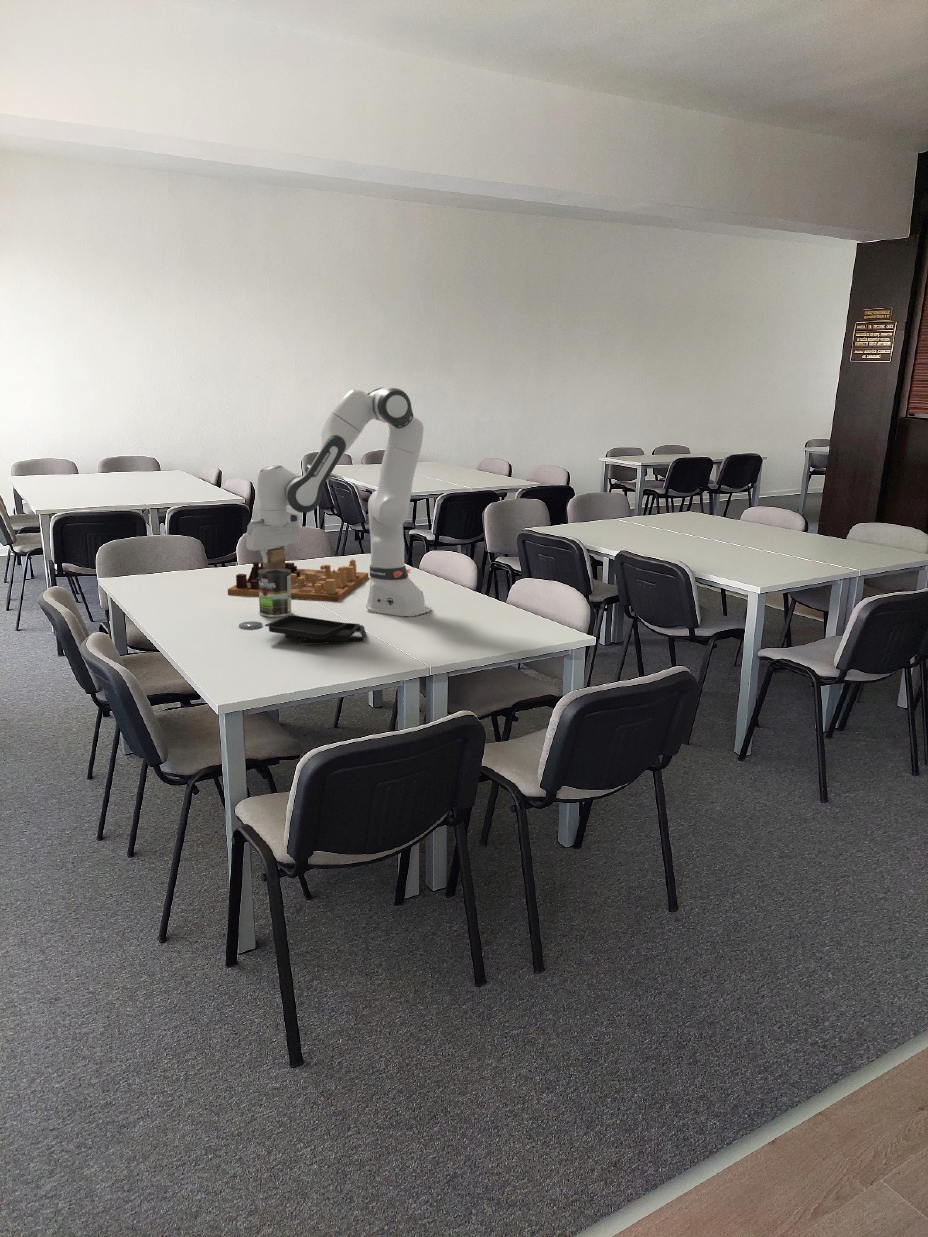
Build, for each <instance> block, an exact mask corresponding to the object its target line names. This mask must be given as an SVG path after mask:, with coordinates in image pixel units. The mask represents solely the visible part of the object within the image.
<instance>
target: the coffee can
mask: <svg viewBox="0 0 928 1237" xmlns="http://www.w3.org/2000/svg"><path fill="white" fill-rule="evenodd" d="M290 573H291V570H289V569H286V568H280V569H275V570H273V569H268V568H264V569H260V570H258V574H259V597H258V598H259V600H258V602H259V613H258V614H259V615H260V616H263V617H266V616H267V618H268V617H269V618H283V617H286V616H290V615H292V599H291V577H290ZM282 616H283V617H282Z"/></svg>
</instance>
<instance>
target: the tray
mask: <svg viewBox="0 0 928 1237" xmlns="http://www.w3.org/2000/svg"><path fill="white" fill-rule="evenodd" d="M264 626H265V627H268V632H270V633H274V634H275V633H276V634H282V635H285V638H290V639H291V638H292V639H296V640H297V641H298V640H299V644H301V645H313V644H315V645H316V644H347V643H348V644H349V643H353V644H354V643H363V642H364V639H365V638H368V634H367V632H366V629H365V626H364V625H362V624H360V623H354V622H353V623H351V622H342V621H341V622H340V621H334V620H328V619H323V618H322V619H321V618H314V617H306V616H302V615H301V616H300V615H292V614H290V615H287V616H283V617H280V618H278V619H276V620H274V621H270V622H269V623H266V624H264ZM357 632H360V635H361V636H355V637H354V636H353V635H354V634H355V633H357ZM352 636H353V637H352Z"/></svg>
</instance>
